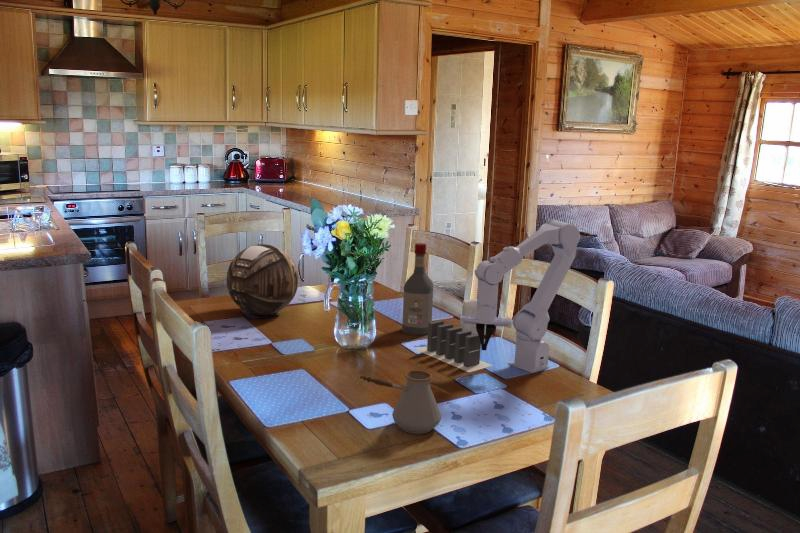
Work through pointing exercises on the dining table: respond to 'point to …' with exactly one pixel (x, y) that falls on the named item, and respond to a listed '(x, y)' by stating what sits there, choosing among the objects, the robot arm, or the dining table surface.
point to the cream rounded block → (470, 310)
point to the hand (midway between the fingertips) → (483, 349)
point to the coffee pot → (413, 402)
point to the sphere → (262, 279)
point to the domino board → (451, 361)
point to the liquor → (418, 297)
